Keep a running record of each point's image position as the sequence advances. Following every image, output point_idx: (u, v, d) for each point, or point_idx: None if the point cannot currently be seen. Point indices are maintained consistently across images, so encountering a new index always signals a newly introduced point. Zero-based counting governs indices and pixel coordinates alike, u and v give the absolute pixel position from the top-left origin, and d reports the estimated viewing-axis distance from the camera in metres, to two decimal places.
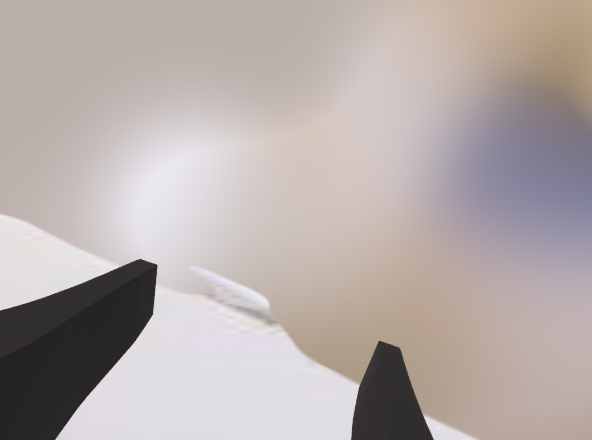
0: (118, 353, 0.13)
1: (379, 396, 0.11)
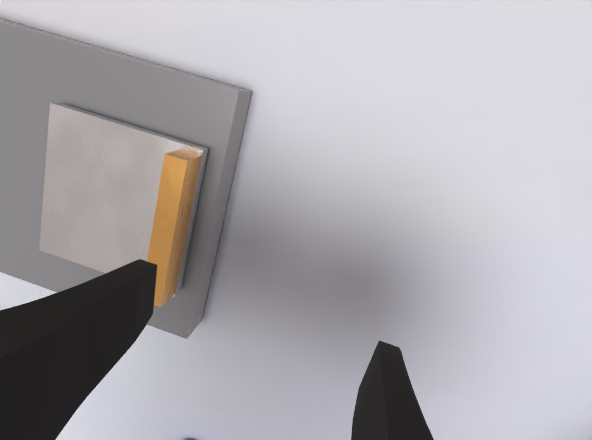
0: (118, 353, 0.13)
1: (379, 396, 0.11)
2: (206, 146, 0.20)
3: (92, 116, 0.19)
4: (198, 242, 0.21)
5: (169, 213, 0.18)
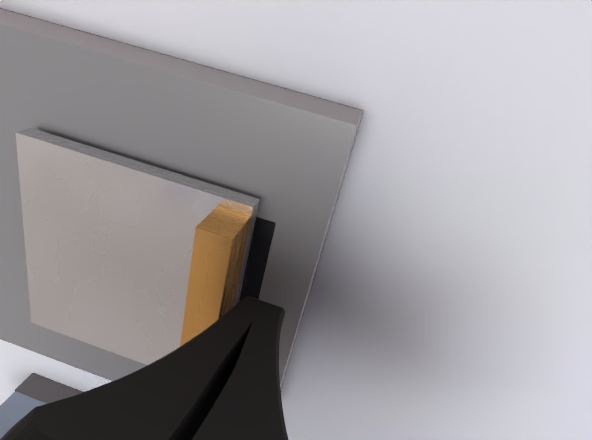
0: None
1: None
2: (298, 206, 0.13)
3: (80, 153, 0.13)
4: (282, 331, 0.15)
5: (207, 309, 0.12)
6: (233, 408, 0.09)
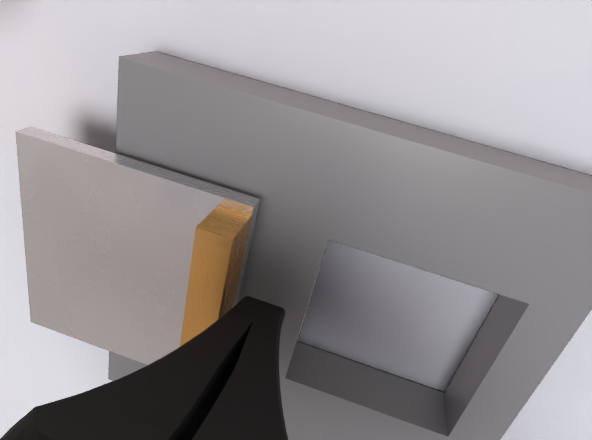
0: None
1: None
2: (561, 289, 0.12)
3: (80, 152, 0.13)
4: (505, 409, 0.14)
5: (207, 309, 0.12)
6: (233, 408, 0.08)
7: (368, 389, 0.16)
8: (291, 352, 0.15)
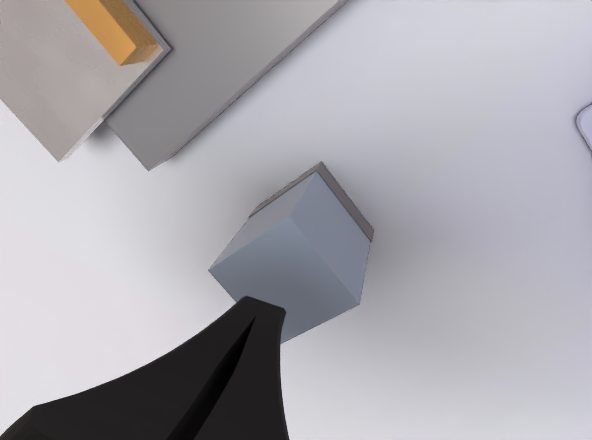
0: None
1: None
2: None
3: None
4: None
5: None
6: (234, 409, 0.08)
7: None
8: None
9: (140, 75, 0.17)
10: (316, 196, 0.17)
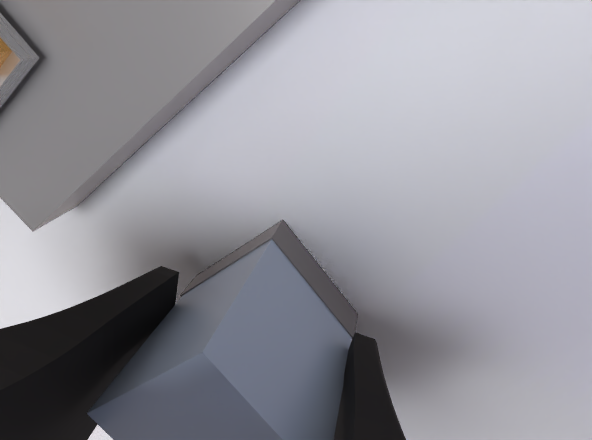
0: None
1: (350, 386, 0.11)
2: None
3: None
4: None
5: None
6: None
7: None
8: None
9: None
10: (265, 287, 0.11)
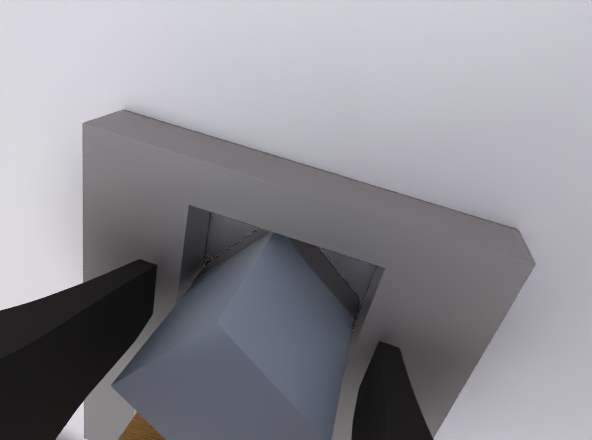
0: (118, 353, 0.13)
1: (379, 396, 0.11)
2: (167, 181, 0.13)
3: None
4: (325, 213, 0.12)
5: None
6: None
7: (358, 327, 0.14)
8: None
9: None
10: (272, 269, 0.12)
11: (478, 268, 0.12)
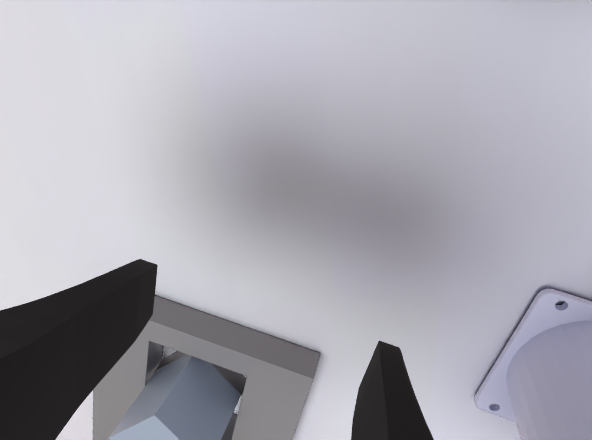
0: (118, 352, 0.13)
1: (379, 396, 0.11)
2: None
3: None
4: (215, 350, 0.24)
5: None
6: None
7: None
8: None
9: None
10: (189, 378, 0.24)
11: (289, 379, 0.24)
